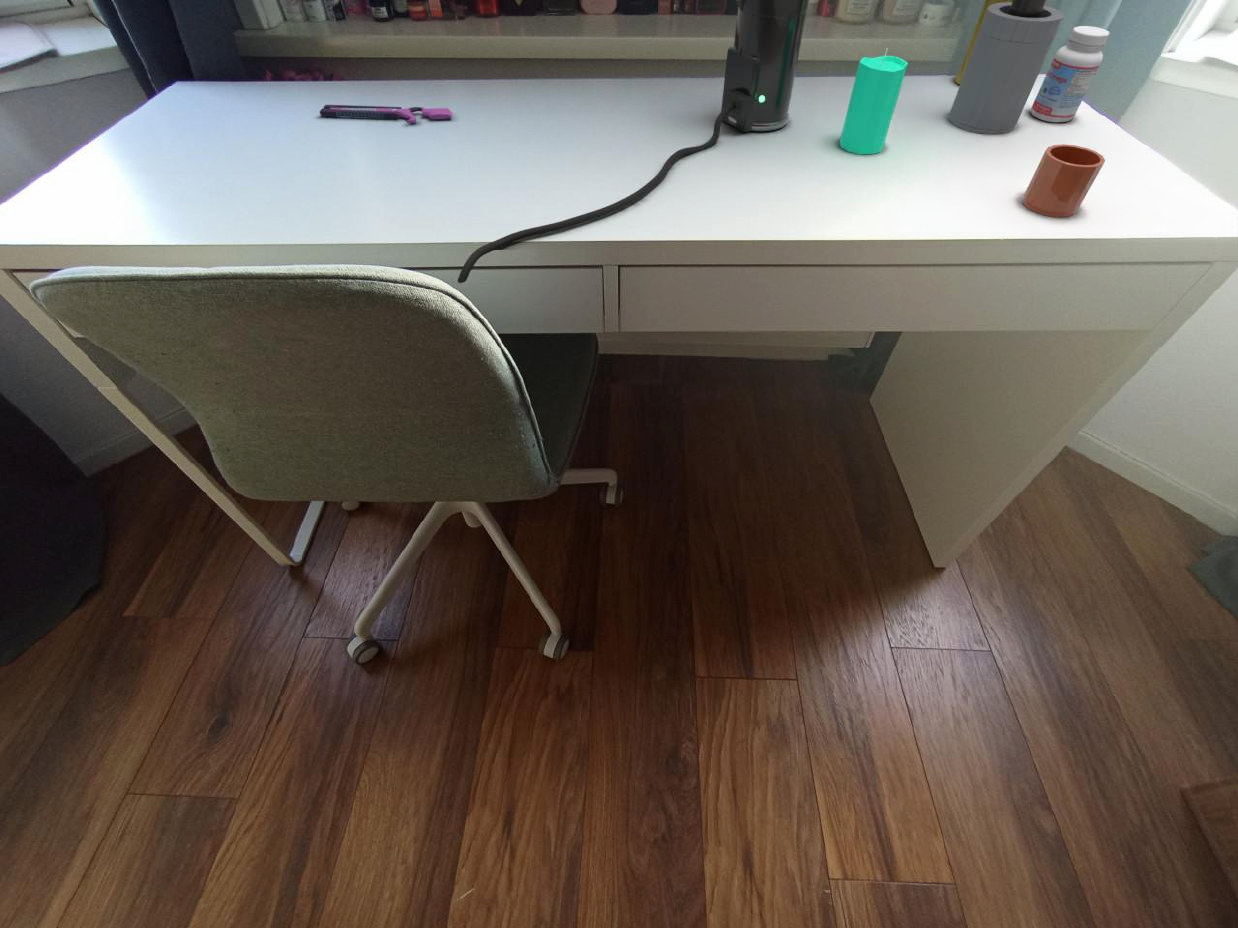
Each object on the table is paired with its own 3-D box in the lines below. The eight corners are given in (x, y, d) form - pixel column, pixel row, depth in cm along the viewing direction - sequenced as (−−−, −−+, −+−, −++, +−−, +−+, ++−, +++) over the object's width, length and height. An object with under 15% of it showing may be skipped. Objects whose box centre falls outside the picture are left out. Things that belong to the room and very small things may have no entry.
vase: (995, 90, 105) (1038, -16, 94) (956, 88, 106) (994, -18, 95) (989, 78, 109) (1029, -25, 98) (951, 75, 110) (987, -27, 99)
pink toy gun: (455, 106, 98) (447, 120, 95) (456, 112, 98) (448, 127, 95) (326, 102, 99) (314, 115, 96) (328, 108, 100) (316, 122, 97)
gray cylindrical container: (986, 139, 92) (1033, 25, 81) (935, 117, 97) (973, 8, 87) (1028, 126, 95) (1078, 14, 84) (976, 106, 100) (1017, -1, 90)
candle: (884, 140, 92) (912, 44, 83) (881, 157, 88) (910, 58, 79) (841, 135, 93) (865, 39, 84) (837, 151, 89) (861, 53, 80)
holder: (1056, 222, 76) (1083, 171, 71) (1011, 201, 79) (1034, 151, 75) (1087, 209, 78) (1116, 159, 73) (1042, 189, 81) (1067, 140, 77)
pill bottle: (1021, 109, 99) (1058, 25, 91) (1058, 108, 100) (1099, 23, 91) (1042, 124, 95) (1082, 37, 87) (1080, 123, 96) (1125, 36, 87)
